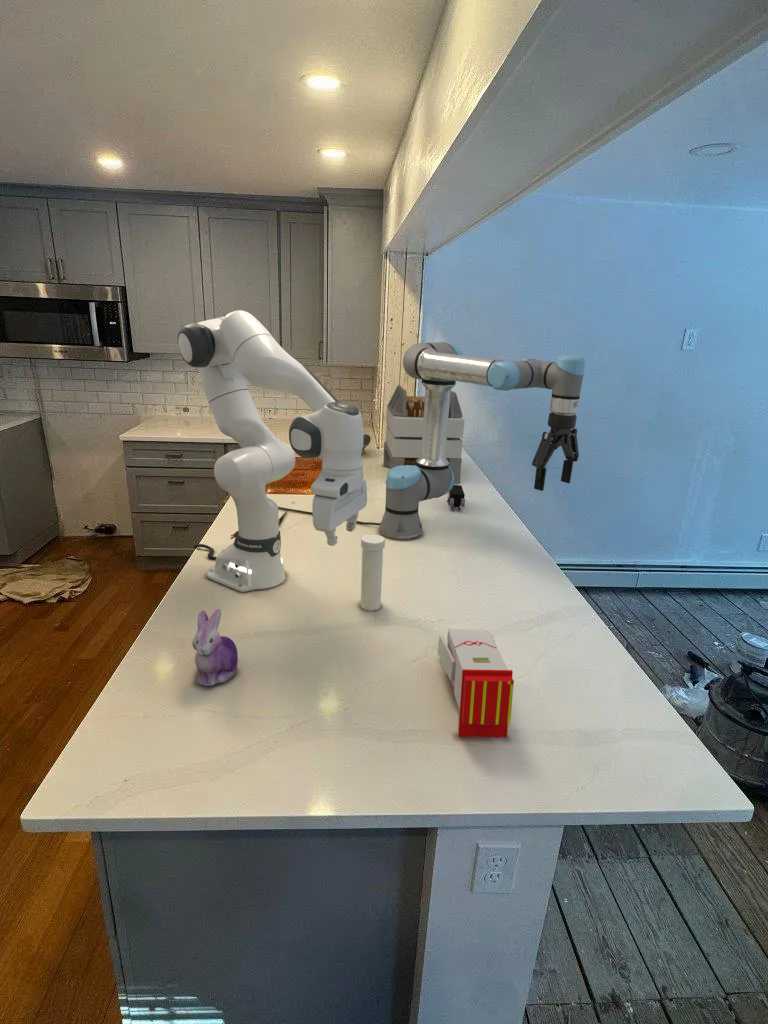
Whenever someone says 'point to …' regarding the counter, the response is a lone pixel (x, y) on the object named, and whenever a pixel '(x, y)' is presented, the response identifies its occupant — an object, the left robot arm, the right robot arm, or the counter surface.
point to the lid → (373, 542)
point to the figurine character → (456, 497)
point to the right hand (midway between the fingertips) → (552, 485)
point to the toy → (478, 682)
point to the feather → (282, 518)
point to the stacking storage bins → (419, 431)
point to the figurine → (213, 651)
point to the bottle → (371, 579)
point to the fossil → (366, 441)
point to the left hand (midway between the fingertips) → (341, 537)
